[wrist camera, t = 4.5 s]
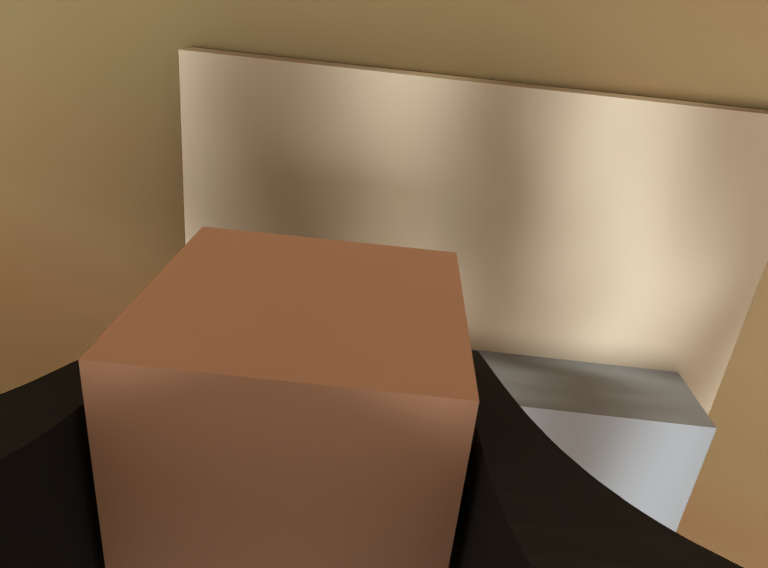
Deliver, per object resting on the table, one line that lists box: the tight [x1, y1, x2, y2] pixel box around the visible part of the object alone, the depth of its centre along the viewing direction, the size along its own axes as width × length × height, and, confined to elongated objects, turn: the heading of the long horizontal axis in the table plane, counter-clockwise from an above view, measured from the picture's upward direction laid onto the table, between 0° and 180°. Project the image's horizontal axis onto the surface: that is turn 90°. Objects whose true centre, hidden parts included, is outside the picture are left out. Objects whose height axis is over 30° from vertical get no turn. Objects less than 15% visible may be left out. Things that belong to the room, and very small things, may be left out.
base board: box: [179, 47, 768, 532], centre depth 20 cm, size 18×18×4 cm
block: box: [78, 226, 479, 568], centre depth 11 cm, size 5×5×5 cm
